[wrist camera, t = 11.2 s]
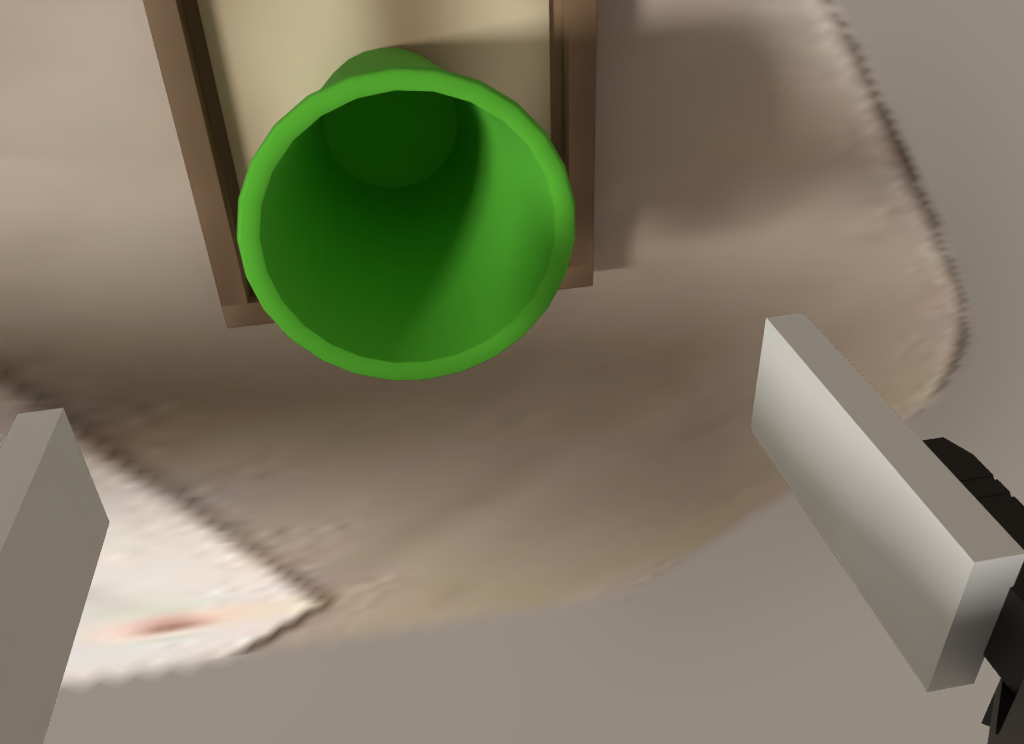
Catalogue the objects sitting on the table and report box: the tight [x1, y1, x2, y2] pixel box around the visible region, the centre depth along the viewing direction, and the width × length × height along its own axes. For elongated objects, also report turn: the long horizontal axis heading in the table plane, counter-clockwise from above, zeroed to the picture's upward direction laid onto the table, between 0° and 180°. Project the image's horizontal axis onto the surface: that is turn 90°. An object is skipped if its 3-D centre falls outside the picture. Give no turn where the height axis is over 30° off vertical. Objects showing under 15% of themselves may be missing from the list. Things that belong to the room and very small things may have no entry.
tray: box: [143, 0, 597, 328], centre depth 32 cm, size 15×15×2 cm
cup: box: [237, 48, 575, 380], centre depth 28 cm, size 9×9×11 cm
